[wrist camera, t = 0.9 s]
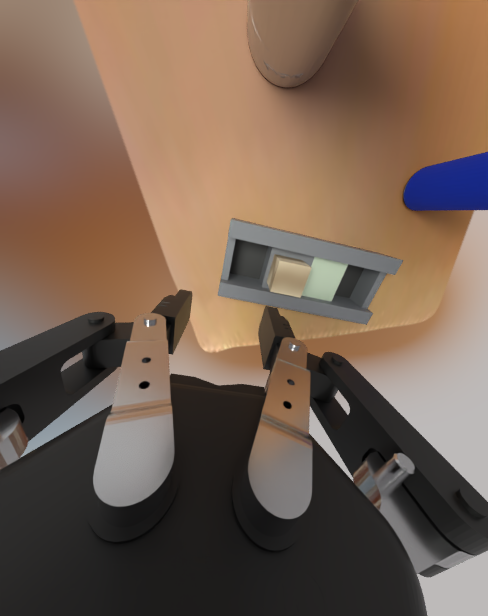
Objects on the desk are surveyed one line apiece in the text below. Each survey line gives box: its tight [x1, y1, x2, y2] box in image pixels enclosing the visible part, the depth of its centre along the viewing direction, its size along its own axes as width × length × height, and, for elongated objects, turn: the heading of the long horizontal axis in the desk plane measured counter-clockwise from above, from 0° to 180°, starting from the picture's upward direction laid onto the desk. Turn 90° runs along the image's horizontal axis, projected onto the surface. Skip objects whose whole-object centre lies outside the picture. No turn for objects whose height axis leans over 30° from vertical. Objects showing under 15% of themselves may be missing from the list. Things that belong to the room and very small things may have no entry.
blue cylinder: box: [403, 152, 488, 211], centre depth 20 cm, size 5×5×15 cm
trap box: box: [218, 218, 403, 325], centre depth 29 cm, size 10×23×6 cm, turn 78°
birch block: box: [267, 254, 312, 298], centre depth 26 cm, size 4×4×4 cm
